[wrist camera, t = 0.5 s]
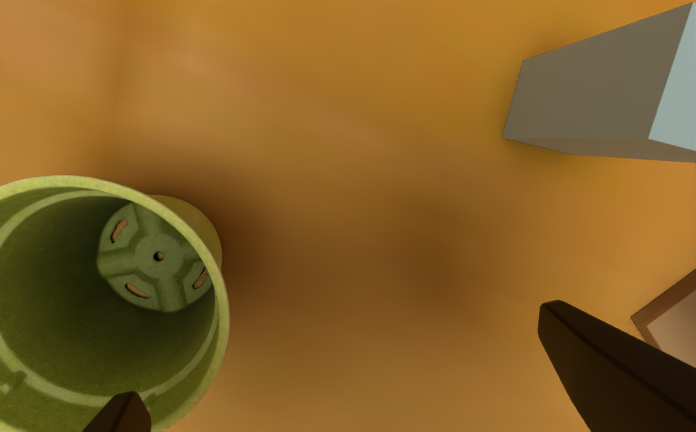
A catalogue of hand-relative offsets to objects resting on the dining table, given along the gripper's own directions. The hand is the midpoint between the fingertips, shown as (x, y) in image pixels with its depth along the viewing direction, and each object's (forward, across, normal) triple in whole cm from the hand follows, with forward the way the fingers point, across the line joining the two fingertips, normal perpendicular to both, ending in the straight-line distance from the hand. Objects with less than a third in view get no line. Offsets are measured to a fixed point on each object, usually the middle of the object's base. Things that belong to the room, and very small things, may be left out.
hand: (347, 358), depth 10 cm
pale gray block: (+14, -13, 0) cm, 19 cm away
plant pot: (+13, +8, +4) cm, 16 cm away
